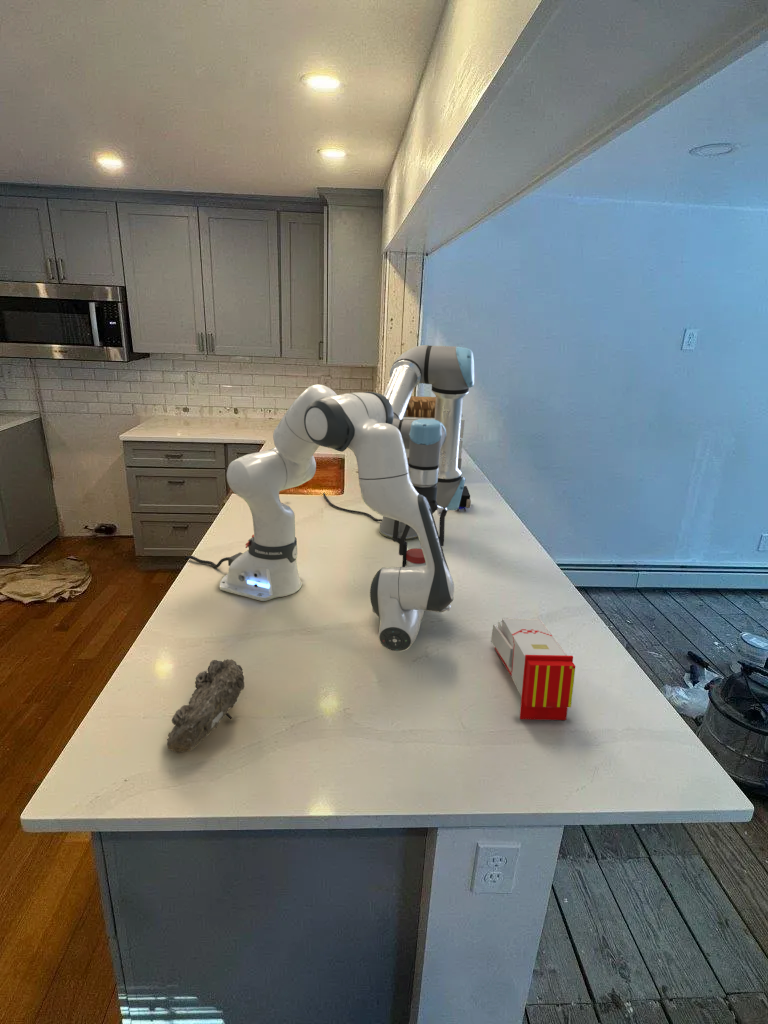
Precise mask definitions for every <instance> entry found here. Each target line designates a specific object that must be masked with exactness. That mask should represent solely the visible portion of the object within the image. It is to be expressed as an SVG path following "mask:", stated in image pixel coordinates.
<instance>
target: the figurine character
mask: <svg viewBox="0 0 768 1024" xmlns="http://www.w3.org/2000/svg"><path fill="white" fill-rule="evenodd" d="M471 501H472V500H471V494H470V491H469V488H468V486H467V485H464V488H463V492H462V496H461V500H460V504H459V508H458V509H457V510H456V511H457V512H460V510H463V511H464V513H466V512H467V509H470V508H471V505H472V504H471ZM466 508H467V509H466Z"/></svg>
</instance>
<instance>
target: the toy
mask: <svg viewBox="0 0 768 1024" xmlns="http://www.w3.org/2000/svg"><path fill="white" fill-rule="evenodd" d="M490 638H491V639H490V642H491V644H492V646H493V647H494V650H495V652H496V654H497V655H498V657H499V659H500V660H501V662H502V664H503V666H504V667H505V669H506V671H507V672H508V674H509V676H510V677H511V679H512V681H513V683H514V685H515V688H516V690H517V691H518V693H519V695H520V697H521V698H520V710H519V719H520V720H534V721H535V720H539V721H567V716H568V708H572V701H573V692H574V684H575V674H576V673H575V672H576V665H575V663H574V656H573V655H568V654H567V653H566V652H565V650H564V649H563V648H562V646H561V645H560V644H559V643H558V641H557V640H556V639H555V637H554V636H553V634H552V633H551V632H550V631H549V629H548V628H547V626H546V624H545V623H543V621H542V620H541V619H540V618H505V617H503V618H501V620H498V622H497V624H495V623H493V624H492V632H491V637H490Z"/></svg>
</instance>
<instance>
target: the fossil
mask: <svg viewBox="0 0 768 1024" xmlns="http://www.w3.org/2000/svg"><path fill="white" fill-rule="evenodd" d="M243 670H244V669H243V667H242V665H240V664H237V662H236V661H235V660H234V659H232V658H231V659H227V658H226V659H224V660H223V661H222V660H217V659H212V660H211V661H210V663H209V665H208V666H207V671H201V672H199V673H198V674H197V675H196V676H195V680H194V684H195V685H194V687H195V689H194V690H193V693H192V694H191V697H190V698H189V700H188V704H184V705H182V706H181V707H180V709H177V710H176V711H175V713H174V715H173V716H172V718H171V723H172V724H173V727H172V730H171V731H170V732H168V734H167V738H166V741H167V742H166V745H167V749H168V750H169V751H173V752H174V753H176V754H178V753H182V752H188V751H189V752H192V751H193V750H195V748H196V747H197V746H199V744H200V743H201V742H203V741H204V740H205V739H206V738H207V737H208V736H209V735H210V734H211V733H212V732H214V730H215V729H217V727H218V726H219V724H220V722H221V721H222V720H223V719H224V718H225V716H226V717H227V719H229V720H233V717H232V715H230V714H229V710H230V709H231V708H234V706H235V704H236V703H237V702H238V699H239V697H240V695H241V693H242V691H243V690H245V689H244V688H245V675H244V671H243Z"/></svg>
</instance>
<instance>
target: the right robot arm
mask: <svg viewBox="0 0 768 1024" xmlns="http://www.w3.org/2000/svg"><path fill="white" fill-rule="evenodd" d="M474 360H475V359H474V353H473V350H472V349H471V348H468V347H461V346H459V345H458V346H454V345H451V346H450V345H429V344H422V345H417V346H413V347H411V348H409V349H408V350H406V351H404V352H402V354H400V355H399V356H398V357H397V358H396V359H395V360H394V362H393V363H392V365H391V367H390V370H389V380H388V383H387V385H386V387H385V390H384V392H383V394H382V395H383V396H385V397H386V398H387V399H388V400H389V401H390V403H391V405H392V408H393V413H394V418H393V423H392V425H394V426H395V427H397V428H398V429H399V431H400V433H401V435H402V439H403V442H404V446H405V449H409V463H408V466H409V474H410V479H411V482H412V484H413V486H414V488H415V490H416V491H417V492H418V493H419V494H420V495H422V496H425V498H426V499H427V501H428V503H429V505H430V508H431V511H432V514H433V515H434V513H435V512H436V511H437V515H438V516H439V525H438V526H439V527H438V528H439V529H438V534H439V538H440V542H441V545H442V547H443V546H444V545H445V530H446V529H445V528H446V526H445V525H446V516H447V514H448V511H453V512H454V511H457V509H458V508H459V504H460V500H461V496H462V492H463V488H464V486H465V483H466V478H465V477H464V476H462V470H461V471H460V470H459V469H458V454H459V442H460V439H461V438H460V429H461V418H463V403H464V397H466V396H467V394H469V392H470V391H469V389H470V388H473V387H474V386H475V361H474ZM419 384H423V385H424V384H425V385H431V392H432V393H433V394H434V395H435V397H436V404H435V420H434V419H431V420H429V419H419V420H403V417H404V414H405V411H406V408H407V406H408V403H409V400H410V397H411V396H413V395H412V394H413V392H414V389H415V388H416V387H418V385H419ZM322 495H323V497H324V499H325V501H326V502H327V503H328V504H329V505H330V506H331V507H332V508H335V509H338V510H340V511H344V512H348V513H353V514H361V515H365V516H367V517H368V518H370V519H371V520H373V521H375V522H379V527H378V533H379V534H380V535H381V536H382V537H385V538H387V539H389V540H392V542H395V543H397V544H398V545H399V546H398V555H399V556H402V562H401V563H402V564H401V567H406V561H407V560H406V552H407V550H408V541H410V540H415V539H419V537H418V535H417V533H416V531H415V530H414V529H413V528H412V527H410V526H409V525H407V524H405V523H403V522H400V521H397V520H394V519H391V518H388V517H385V516H382V518H376V517H374V516H373V515H372V514H370V513H368V512H365V511H359V510H353V509H348V508H345V507H340V506H337V505H335V504H334V503H332V502H331V501H330V500H329V499H328V497H327V495H326V493H325V492H322Z"/></svg>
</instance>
